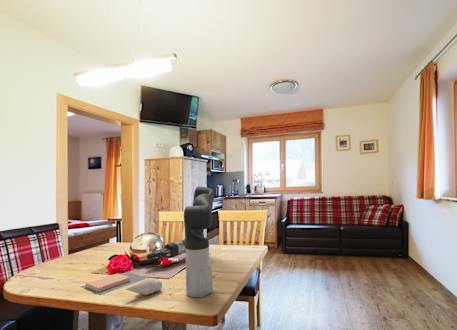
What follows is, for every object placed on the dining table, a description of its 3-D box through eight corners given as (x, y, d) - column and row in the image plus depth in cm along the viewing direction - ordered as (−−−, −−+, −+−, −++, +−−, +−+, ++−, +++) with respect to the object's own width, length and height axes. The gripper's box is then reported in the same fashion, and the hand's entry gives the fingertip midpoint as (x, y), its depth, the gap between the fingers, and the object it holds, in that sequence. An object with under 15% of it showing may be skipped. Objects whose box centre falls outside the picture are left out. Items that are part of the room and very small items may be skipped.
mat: (148, 278, 120) (148, 277, 120) (99, 296, 102) (99, 295, 102) (127, 272, 129) (127, 271, 129) (80, 287, 112) (80, 286, 112)
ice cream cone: (122, 301, 97) (159, 295, 107) (129, 294, 94) (166, 288, 104) (120, 285, 100) (156, 281, 110) (127, 277, 98) (163, 273, 108)
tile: (129, 277, 116) (98, 288, 105) (130, 281, 116) (98, 292, 105) (117, 273, 122) (85, 283, 111) (117, 277, 122) (85, 287, 111)
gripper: (166, 241, 148) (139, 247, 134) (182, 243, 140) (156, 251, 126) (166, 254, 147) (139, 263, 133) (183, 258, 139) (156, 267, 126)
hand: (147, 257), depth 130 cm, fingers closed
